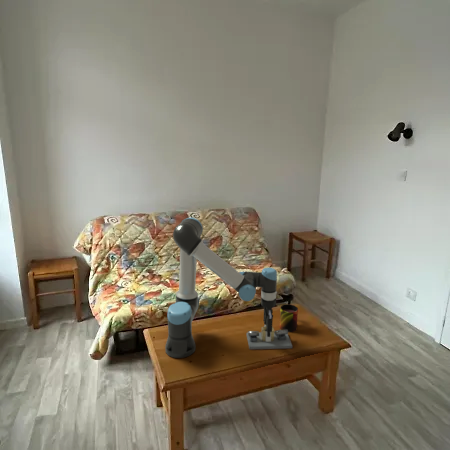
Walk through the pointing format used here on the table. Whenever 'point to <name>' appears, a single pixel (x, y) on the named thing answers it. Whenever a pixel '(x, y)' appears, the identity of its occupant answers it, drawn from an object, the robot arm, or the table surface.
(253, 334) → the shaft left
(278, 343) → the base plate
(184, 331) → the robot arm
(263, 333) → the tan rectangular block
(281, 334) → the shaft right
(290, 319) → the patterned mug
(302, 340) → the table surface
